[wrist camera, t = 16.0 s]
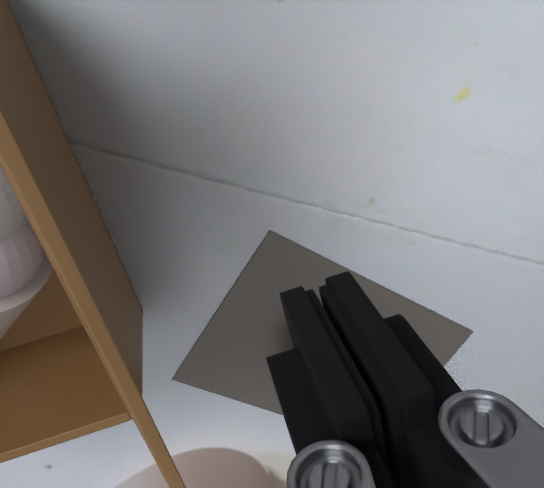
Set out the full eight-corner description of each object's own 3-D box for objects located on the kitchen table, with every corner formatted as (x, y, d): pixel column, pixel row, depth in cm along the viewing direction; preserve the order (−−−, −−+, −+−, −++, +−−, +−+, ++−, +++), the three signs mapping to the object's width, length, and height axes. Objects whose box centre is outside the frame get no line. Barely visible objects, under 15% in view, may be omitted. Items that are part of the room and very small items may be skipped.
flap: (-110, -58, 8) (-83, -63, 9) (-97, -24, 13) (-80, -28, 14) (199, 544, 17) (210, 536, 17) (138, 429, 22) (147, 424, 22)
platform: (376, 444, 41) (414, 521, 35) (171, 379, 33) (177, 462, 27) (473, 331, 37) (532, 395, 31) (269, 230, 30) (299, 290, 24)
